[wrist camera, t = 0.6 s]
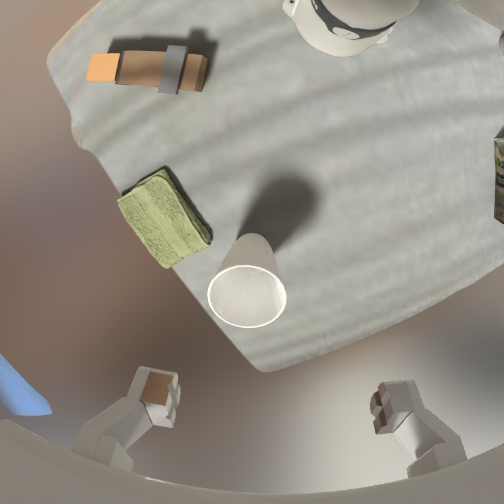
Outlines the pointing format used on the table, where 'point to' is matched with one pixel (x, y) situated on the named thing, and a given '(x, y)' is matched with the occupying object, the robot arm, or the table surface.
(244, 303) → the cup
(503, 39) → the house plant
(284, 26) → the table surface
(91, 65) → the peach rectangular block
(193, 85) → the block
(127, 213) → the washcloth
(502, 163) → the juice carton
